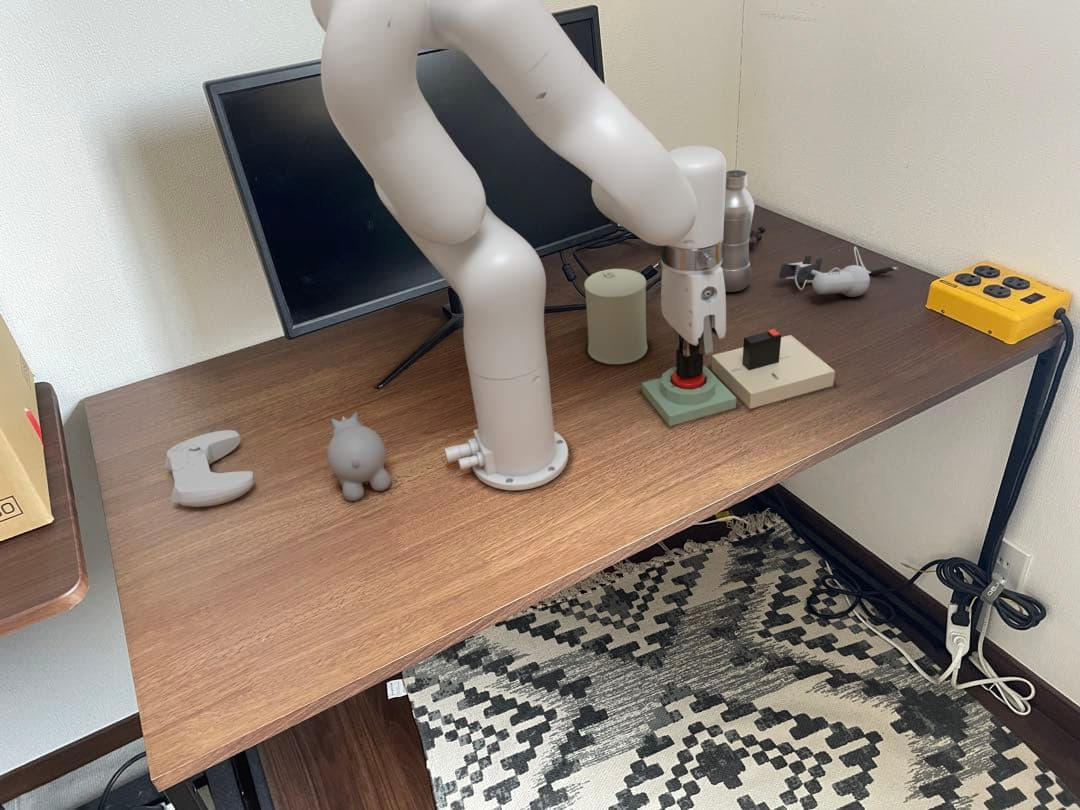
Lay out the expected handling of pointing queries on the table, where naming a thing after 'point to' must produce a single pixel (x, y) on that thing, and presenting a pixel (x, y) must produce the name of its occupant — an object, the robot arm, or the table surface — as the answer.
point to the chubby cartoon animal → (357, 457)
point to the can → (616, 316)
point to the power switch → (687, 398)
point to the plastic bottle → (736, 231)
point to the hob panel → (774, 374)
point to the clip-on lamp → (831, 276)
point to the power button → (688, 381)
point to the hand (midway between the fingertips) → (689, 374)
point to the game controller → (206, 470)
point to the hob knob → (761, 349)
